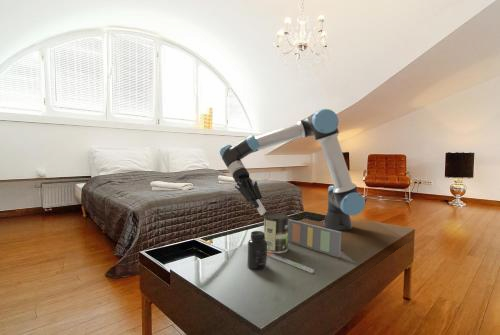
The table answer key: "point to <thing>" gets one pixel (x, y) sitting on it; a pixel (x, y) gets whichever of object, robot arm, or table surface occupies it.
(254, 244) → the supplement bottle
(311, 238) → the panel board
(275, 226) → the coffee can
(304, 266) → the front rail
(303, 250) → the table surface
